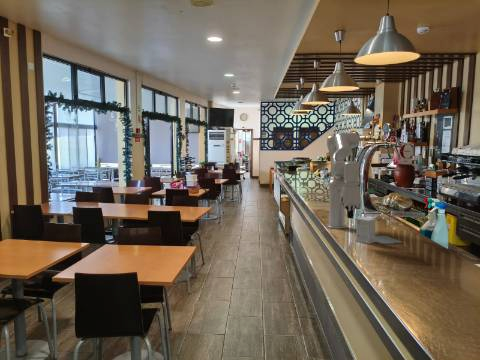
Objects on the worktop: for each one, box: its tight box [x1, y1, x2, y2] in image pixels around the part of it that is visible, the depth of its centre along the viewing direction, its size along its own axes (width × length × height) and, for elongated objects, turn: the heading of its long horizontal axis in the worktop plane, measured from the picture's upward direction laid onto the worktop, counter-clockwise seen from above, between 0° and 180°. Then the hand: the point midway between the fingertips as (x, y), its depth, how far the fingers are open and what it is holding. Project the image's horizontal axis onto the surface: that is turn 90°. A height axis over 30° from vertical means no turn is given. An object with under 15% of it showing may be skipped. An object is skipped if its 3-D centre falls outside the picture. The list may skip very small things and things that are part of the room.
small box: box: [355, 216, 376, 245], centre depth 206 cm, size 8×6×13 cm
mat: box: [375, 235, 404, 245], centre depth 210 cm, size 16×13×1 cm
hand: (350, 217), depth 203 cm, fingers closed
